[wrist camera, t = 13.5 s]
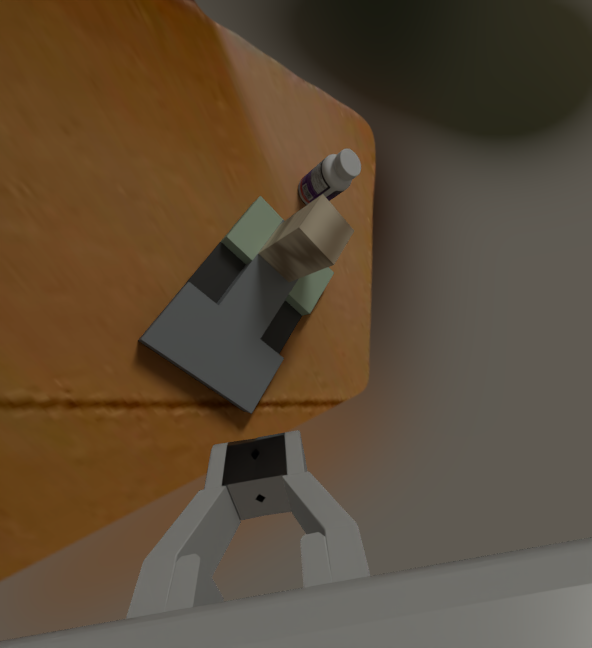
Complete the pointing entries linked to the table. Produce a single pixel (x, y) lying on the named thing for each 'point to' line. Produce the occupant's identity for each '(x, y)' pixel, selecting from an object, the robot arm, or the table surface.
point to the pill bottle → (330, 176)
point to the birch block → (307, 240)
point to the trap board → (235, 313)
